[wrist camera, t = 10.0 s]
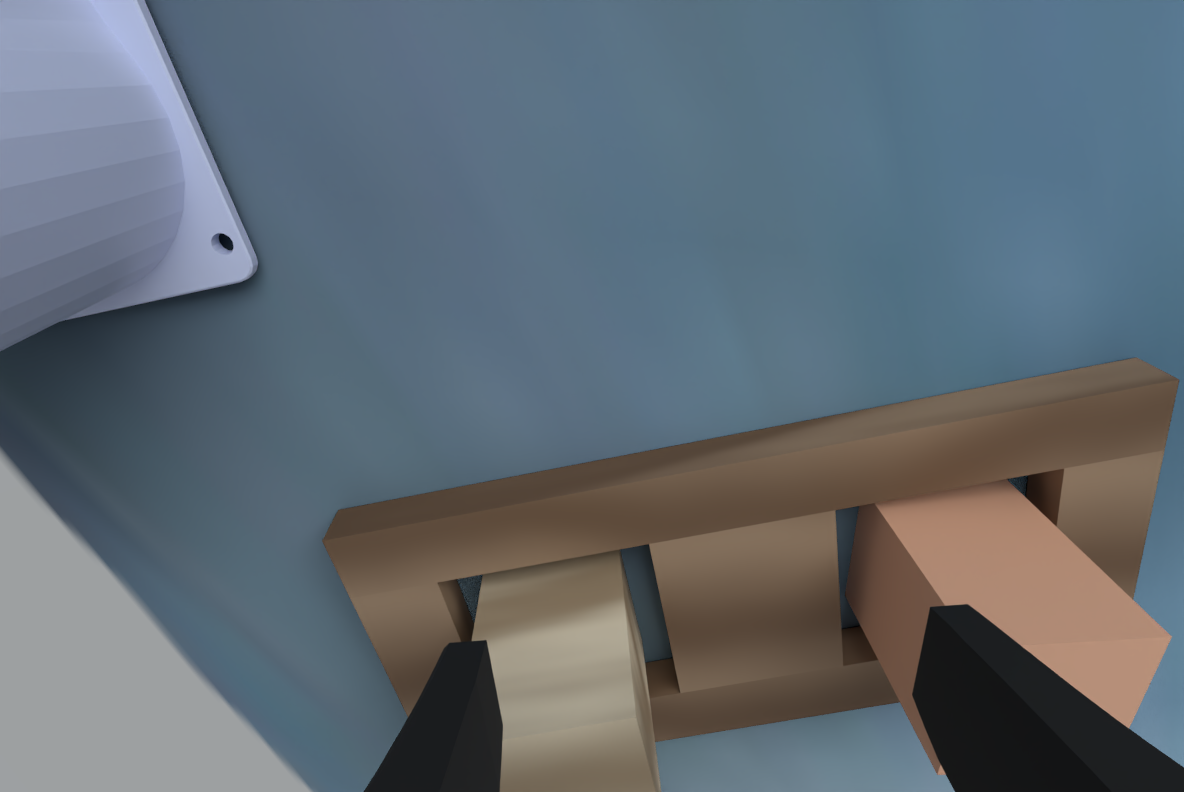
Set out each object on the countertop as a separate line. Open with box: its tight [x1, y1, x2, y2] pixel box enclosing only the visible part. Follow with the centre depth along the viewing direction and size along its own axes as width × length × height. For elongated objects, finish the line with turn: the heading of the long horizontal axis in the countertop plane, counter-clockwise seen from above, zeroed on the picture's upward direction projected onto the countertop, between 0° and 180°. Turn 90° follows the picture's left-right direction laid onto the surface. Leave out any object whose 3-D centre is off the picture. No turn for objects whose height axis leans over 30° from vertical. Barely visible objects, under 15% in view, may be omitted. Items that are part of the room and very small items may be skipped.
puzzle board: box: [322, 358, 1179, 742], centre depth 22 cm, size 11×24×2 cm, turn 102°
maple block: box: [472, 549, 661, 792], centre depth 20 cm, size 4×4×6 cm
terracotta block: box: [845, 479, 1171, 775], centre depth 19 cm, size 4×4×6 cm
